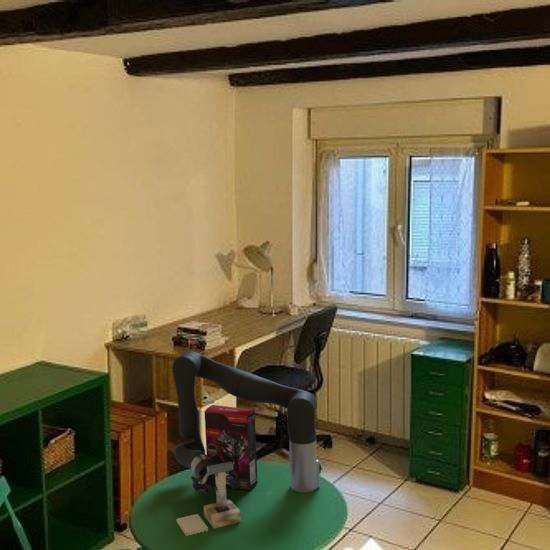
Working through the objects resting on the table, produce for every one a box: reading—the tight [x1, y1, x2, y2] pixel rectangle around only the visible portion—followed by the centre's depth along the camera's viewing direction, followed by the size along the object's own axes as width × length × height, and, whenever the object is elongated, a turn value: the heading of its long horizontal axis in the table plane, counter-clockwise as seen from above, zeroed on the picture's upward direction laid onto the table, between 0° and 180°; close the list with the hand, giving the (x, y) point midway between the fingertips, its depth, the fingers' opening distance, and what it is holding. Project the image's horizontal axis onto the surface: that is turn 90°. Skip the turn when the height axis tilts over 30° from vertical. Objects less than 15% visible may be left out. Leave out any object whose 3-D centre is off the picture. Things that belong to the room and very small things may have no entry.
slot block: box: [203, 499, 242, 529], centre depth 226 cm, size 9×9×4 cm
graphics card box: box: [204, 404, 258, 491], centre depth 249 cm, size 17×7×27 cm, turn 68°
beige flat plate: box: [175, 513, 209, 537], centre depth 222 cm, size 7×10×1 cm
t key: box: [207, 462, 233, 513], centre depth 225 cm, size 8×3×18 cm, turn 115°
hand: (221, 488), depth 224 cm, fingers open, 8 cm apart
